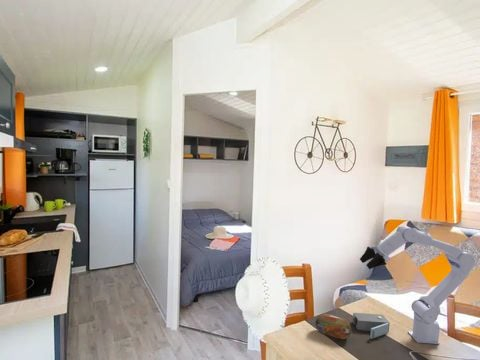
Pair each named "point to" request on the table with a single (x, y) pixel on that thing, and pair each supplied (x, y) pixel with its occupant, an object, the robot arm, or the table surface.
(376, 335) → the side door
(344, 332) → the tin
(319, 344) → the table surface
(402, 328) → the table surface
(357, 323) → the camcorder
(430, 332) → the robot arm
